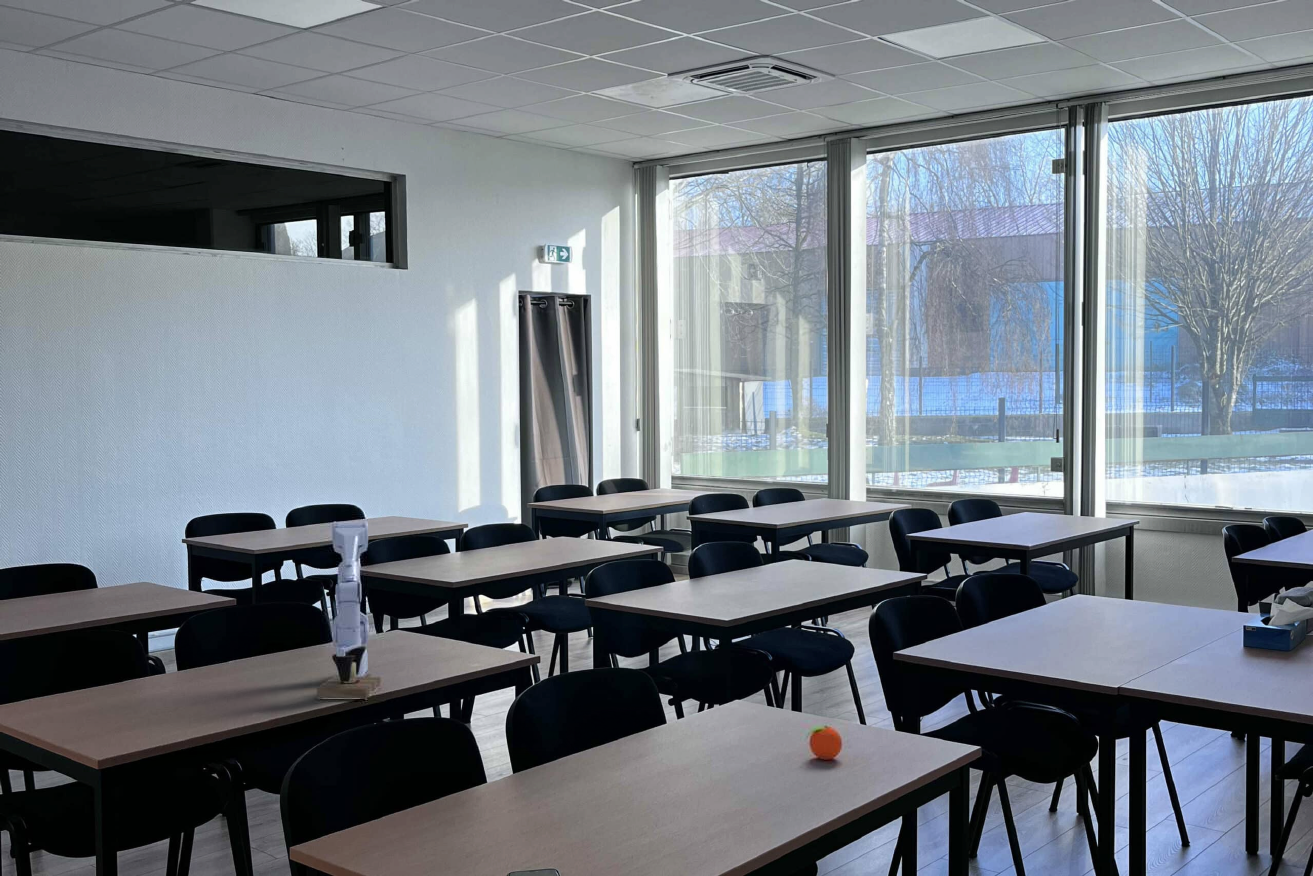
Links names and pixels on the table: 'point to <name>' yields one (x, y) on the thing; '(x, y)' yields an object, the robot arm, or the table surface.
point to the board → (348, 688)
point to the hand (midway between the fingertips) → (349, 677)
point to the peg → (352, 674)
